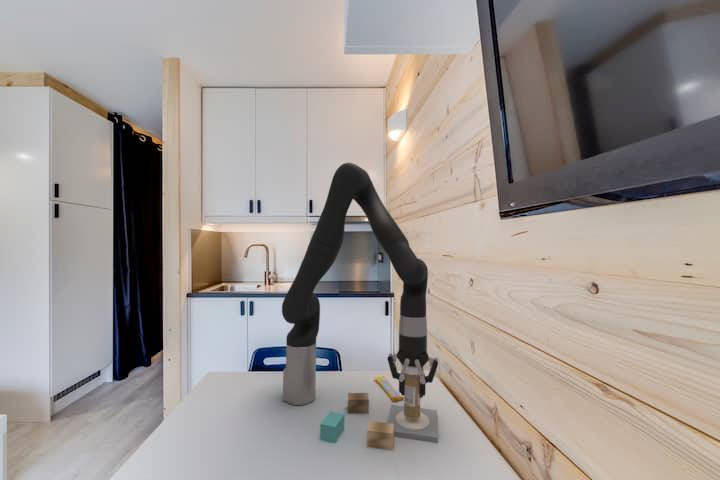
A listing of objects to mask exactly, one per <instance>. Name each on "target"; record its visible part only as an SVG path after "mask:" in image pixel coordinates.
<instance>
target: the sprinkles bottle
mask: <svg viewBox="0 0 720 480" xmlns="http://www.w3.org/2000/svg"><path fill="white" fill-rule="evenodd" d="M405 367H406V366H405ZM404 370H405V369H404ZM420 381H421V380H420V377H419V374H418V368H417V367H412V366H408V367H406V374H405V377H404V396H403V397H404V399H403V403H404V404H403V406H404V415H405V416H406V417H407V418H410V419H417V418H419V417H420V415H421V414H420V408H421V398H420Z"/></svg>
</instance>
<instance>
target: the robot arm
mask: <svg viewBox="0 0 720 480" xmlns="http://www.w3.org/2000/svg"><path fill="white" fill-rule="evenodd" d="M353 201H355V203H356V204H357V205H358V206H359V207H360V208H361V210H362V211H363V213H364V214H365V216H366V218H367V220H368V222H369V223H368V224H369V226H370V228H371V230H372V233H373V235H374V237H375V238H376V240H377V242H378V243H379V244H380V246H381V247H382V249H383V250H384V252H385V253H386V254H387V256H388V258H389V260H390V263H391V264H392V265H391V266H392V267H393V269H394V271H395V273H396V274H397V276H398V277H399V279H400V280H401V281H402V282H403V283H402V284H403V285H402V288H403V290H402V294H401V295H400V303H399V321H398V351H397V353H394V354H392V353H389V354H388V356H387V361H388V362H387V363H388V367H389V370H390V374H391V376H392V378H393V379H395V380H397V381H398V392H399V393H400V394H401V395H400V396H402V397H404V377H405V374H406V367H408V366H412V367H417V368H418V374H419V377H420V399H423V397H424V396H426V385H427V383H429V384H431V383H433V381H434V378H435V375H436V372H437V369H438V365H439V359H438V358H437V357H434V358H432V357H431V356H429V354H428V320H427V291H428V290H427V288H428V279H429V278H428V277H429V272H428V266H427V264H426V263H425V261H424V260H422V259H421V258H418V256H416V253H414V251H413V249H412V248H411V246H410V243H409V240H408V238H407V237H406V236H405V234H404V232H403V231H402V229H401V228H400V226H399V225H398V224H397V223H396V221H395V220H394V218H393V217H392V216H391V214H390V212H389V211H388V210H387V208H386V207H385V204H384V203H383V202H382V200H381V197H380V196H379V194H378V192H377V190H376V187H375V186H374V184H373V182H372V180H371V177H370V175H369V173H368V172H367V171H366V169H364V168H362V167H360V166H359V165H357V164H355V163H352V162H345V163H342V164H341V165H340V166H339V167H338V168H337V169H336V170H335V172H334V174H333V176H332V180H331V182H330V186H329V190H328V193H327V196H326V200H325V204H324V206H323V209H322V211H321V214H320V217H319V219H318V221H317V224H316V227H315V229H314V232H313V233H312V236H311V238H310V239H309V240H310V241H309V243H308V246H307V248H306V251H305V254H304V257H303V259H302V262H301V263H300V265H299V269H298V271H297V273H296V275H295V277H294V280H293V281H292V283H291V286H290V287H289V289H288V291H287V293H285V294H286V295H285V297H284V299H283V302H282V305H281V315H282V317H283V319H284V321H286V323H289V324H291V325H292V324H294V325H292V326H293V327H292V328H291V329H290V330H289V331H288V333H287V335H286V338H285V339H286V340H285V341H286V342H285V343H286V345H285V347H286V349H285V350H286V353H285V355H286V356H285V357H286V358H285V368H283V372H282V374H283V375H282V401H283V402H286V403H287V404H290V405H293V406H303V405H307V404H311V403H312V402H313V401H314V400H315V399H316V385H317V384H316V379H317V378H316V377H317V375H316V371H317V369H316V367H317V337H318V334H319V330H320V320H321V319H320V318H321V303H320V299H319V297H318V296H317V294H316V293H315V292H314V290H315V289H316V287H317V285H318V284H319V283H320V281H321V280H322V279H323V277H324V276H325V275H326V274H327V272H328V271H329V270H330V269H331V268H332V266H333V265H334V263H335V261H336V259H337V257H338V255H339V253H340V250H341V248H342V245H343V241H344V237H345V227H346V226H345V225H346V224H345V223H346V217H347V213H348V211H349V208H350V206H351V204H352V202H353ZM397 359H398V361H399V363H400V364H401V365H402V367H401V370H400V372H398V369H397V366H396V362H397ZM427 363H429V364H428V365H429V367H430V369H429V372H428V374H427V375H426V374H425V371H424V370H425V369H424V366H425V365H426V364H427ZM405 366H406V367H405ZM404 369H405V370H404Z"/></svg>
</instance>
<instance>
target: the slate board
mask: <svg viewBox="0 0 720 480" xmlns="http://www.w3.org/2000/svg"><path fill="white" fill-rule="evenodd" d="M420 414H421V415H420V417H419V418H417V419H410V418H407V417H406V416H405V415H404V405H398V404H392V403H391V406H390V408H389V413H388V416H387V421H386V423H391V424H394V437H399V438H404V439H409V440H410V439H412V440H416V441H423V442H431V443H436V444H437V443H439V433H438V431H439V430H438V428H439V427H438V411H437V409H430V408H429V409H428V408H422V407H420Z"/></svg>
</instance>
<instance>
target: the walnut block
mask: <svg viewBox="0 0 720 480" xmlns="http://www.w3.org/2000/svg"><path fill="white" fill-rule="evenodd" d="M369 413H370V398H369V393H368V392H360V393H359V392H348V393H347V414H369Z"/></svg>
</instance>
